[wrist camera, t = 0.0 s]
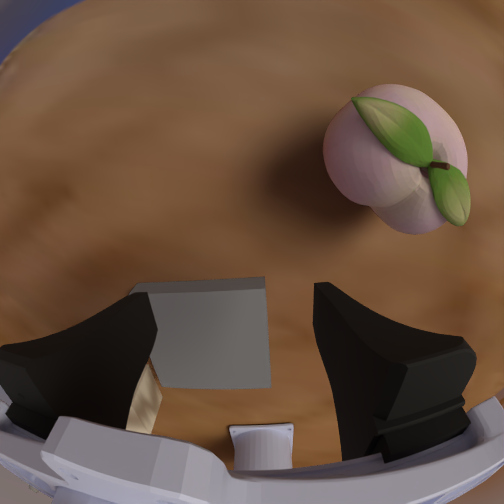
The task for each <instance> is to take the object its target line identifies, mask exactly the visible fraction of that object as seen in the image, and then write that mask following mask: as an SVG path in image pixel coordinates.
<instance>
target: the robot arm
mask: <svg viewBox="0 0 504 504" xmlns="http://www.w3.org/2000/svg"><path fill="white" fill-rule="evenodd" d="M313 327H314V333H315V338H316V343H317V346H318V349H319V352H320V355H321V358H322V361H323V363H324V366H325V369H326V372H327V375H328V378H329V381H330V385H331V388H332V393H333V398H334V403H335V409H336V415H337V421H338V427H339V435H340V443H341V452H342V462H336V463H330V464H324V465H317V466H310V467H301V468H292V460H291V455H292V443H293V428H294V426H293V424H291V423H288V424H274V425H250V426H230V427H229V431H230V434H231V438H232V441H233V445H234V448H235V457H234V470H227V469H226V466H225V464H224V463H223V462H222V461H221V460H220V459H219V458H218V457H216V456H215V455H214V454H213V453H212V452H211V451H210V450H208V449H205V448H203V447H201V446H198V445H196V444H194V443H191V442H189V441H184V440H179V439H175V438H171V437H166V436H160V435H153V434H147V433H140V432H135V431H130V430H126V426H127V421H128V416H129V412H130V407H131V404H132V400H133V396H134V392H135V389H136V387H137V384H138V382H139V379H140V377H141V375H142V372H143V370H144V368H145V366H146V363H147V361H148V359H149V356H150V354H151V352H152V349H153V347H154V343H155V340H156V336H157V332H158V328H157V324H156V321H155V318H154V314H153V311H152V307H151V304H150V300H149V296H148V292H135V293H132V294H130V295H128V296H126V297H124V298H123V299H121V300H119V301H118V302H116V303H114V304H113V305H111V306H109V307H108V308H106V309H104V310H103V311H101V312H99V313H97V314H96V315H94V316H92V317H90V318H89V319H87V320H85V321H83V322H81V323H79V324H77V325H75V326H73V327H70V328H68V329H66V330H63V331H61V332H58V333H55V334H52V335H49V336H46V337H43V338H39V339H36V340H31V341H27V342H21V343H14V344H6V345H3V346H1V347H0V385H1V386H2V388H3V389H4V391H5V392H6V394H7V395H8V396H9V398H10V399H11V400H12V402H13V403H12V404H11V405H10V406H8V405H7V404H6V403H5V402H4V401H2V400H0V464H1V465H2V466H4V467H5V468H6V469H8V470H9V471H10V472H12V473H13V474H15V475H16V476H17V477H19V478H20V479H22V480H23V481H25V482H26V483H28V484H29V485H31V486H32V487H34V488H36V489H37V490H39V491H40V492H42V493H44V494H45V495H47V496H49V497H50V498H52V499H53V501H52V504H446V503H448V502H450V501H451V500H453V499H455V498H457V497H459V496H461V495H462V494H464V493H466V492H467V491H469V490H471V489H472V488H474V487H476V486H477V485H479V484H480V483H482V482H484V481H485V480H486V479H488V478H489V477H490V476H491V475H492V474H494V473H495V472H496V471H497V470H498V469H499V468H500V467H502V466H503V465H504V409H503V408H502V406H501V405H500V403H499V402H498V400H497V399H496V397H491V398H489V399H488V400H486V401H484V402H482V403H480V404H478V405H476V406H474V407H473V408H471V409H470V410H469V411H468V412H467V413H465V411H464V409H463V408H462V406H464V404H465V400H464V398H463V397H462V395H461V394H462V392H463V391H464V389H465V387H466V385H467V383H468V382H469V380H470V378H471V376H472V374H473V371H474V369H475V366H476V360H477V358H476V353H475V352H474V351H473V349H472V348H471V347H470V346H469V345H468V343H467V342H466V341H465V340H464V339H463V337H460V336H452V335H444V334H437V333H432V332H428V331H423V330H419V329H416V328H412V327H409V326H406V325H404V324H401V323H398V322H395V321H393V320H391V319H388V318H386V317H384V316H382V315H380V314H378V313H376V312H374V311H372V310H370V309H369V308H367V307H365V306H363V305H362V304H360V303H359V302H357V301H356V300H354V299H353V298H351V297H350V296H348V295H347V294H345V293H344V292H343V291H341V290H340V289H338V288H337V287H336V286H334V285H333V284H331V283H329V282H321V283H314V305H313Z"/></svg>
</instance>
